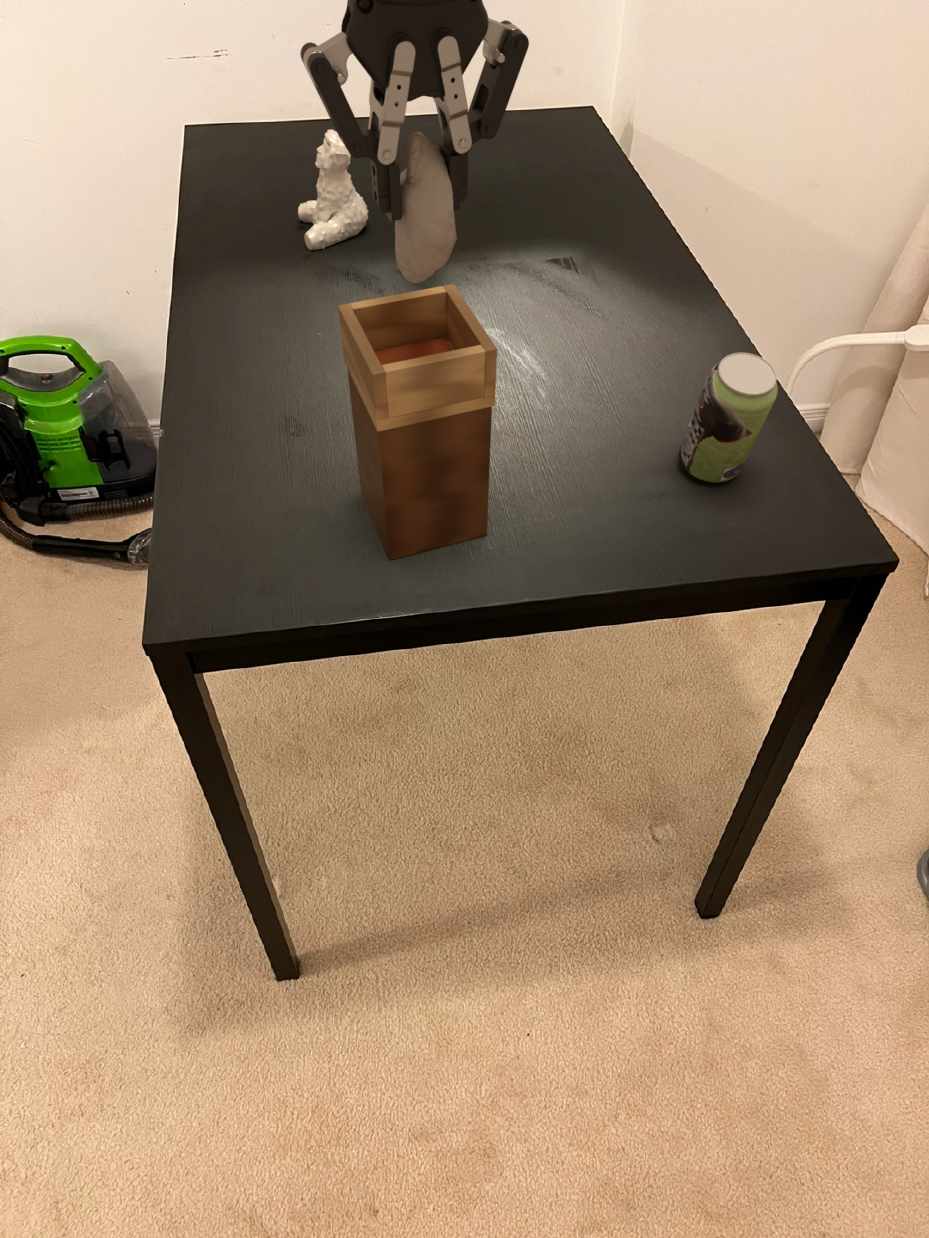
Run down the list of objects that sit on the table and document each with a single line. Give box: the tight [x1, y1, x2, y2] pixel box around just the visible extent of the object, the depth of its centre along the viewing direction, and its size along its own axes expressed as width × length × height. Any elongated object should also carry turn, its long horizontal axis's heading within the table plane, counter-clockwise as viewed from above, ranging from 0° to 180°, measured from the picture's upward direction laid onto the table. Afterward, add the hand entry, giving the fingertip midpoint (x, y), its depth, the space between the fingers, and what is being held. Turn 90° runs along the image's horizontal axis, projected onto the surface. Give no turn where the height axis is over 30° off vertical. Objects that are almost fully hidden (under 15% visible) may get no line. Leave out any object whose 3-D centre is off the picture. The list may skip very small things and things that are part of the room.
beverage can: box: [678, 352, 778, 483], centre depth 78 cm, size 6×7×12 cm
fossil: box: [394, 131, 458, 284], centre depth 58 cm, size 6×4×10 cm, turn 26°
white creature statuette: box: [297, 128, 369, 251], centre depth 107 cm, size 10×9×12 cm
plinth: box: [346, 368, 493, 561], centre depth 74 cm, size 9×9×14 cm
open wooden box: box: [337, 283, 498, 432], centre depth 66 cm, size 9×9×5 cm
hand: (421, 209), depth 58 cm, fingers closed on fossil, 3 cm apart
